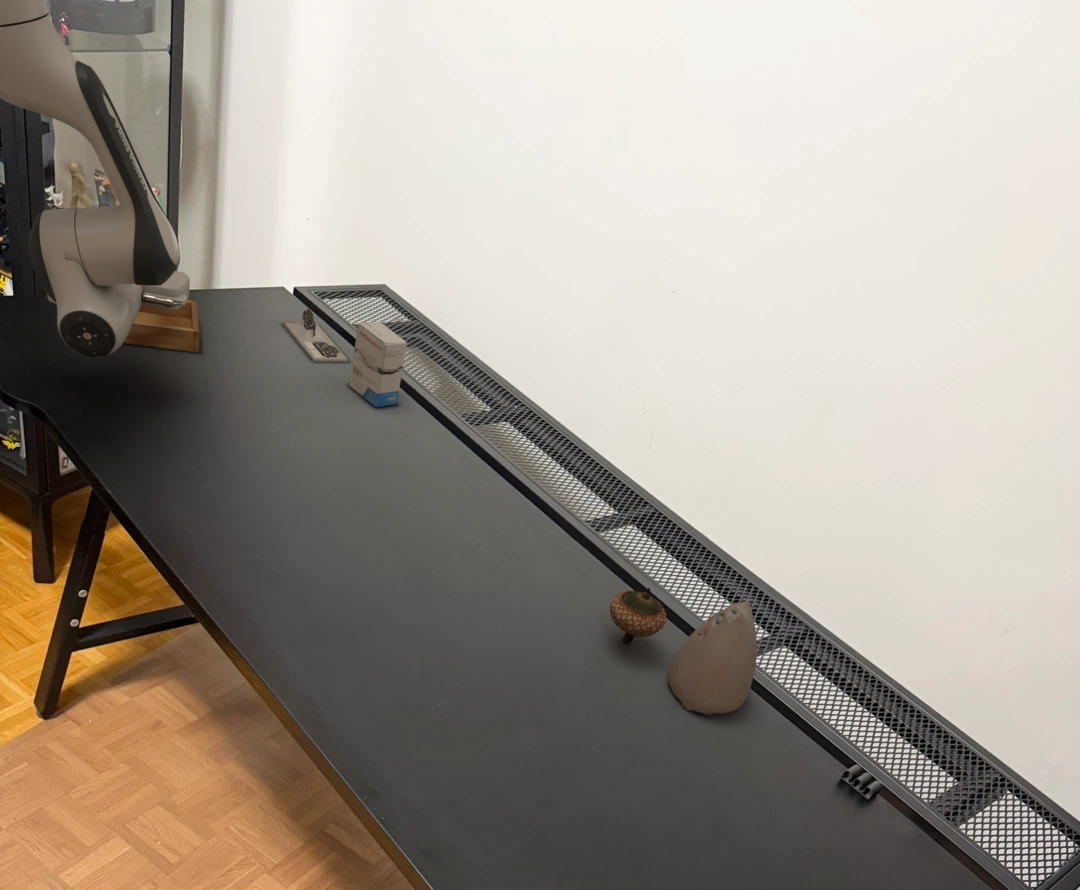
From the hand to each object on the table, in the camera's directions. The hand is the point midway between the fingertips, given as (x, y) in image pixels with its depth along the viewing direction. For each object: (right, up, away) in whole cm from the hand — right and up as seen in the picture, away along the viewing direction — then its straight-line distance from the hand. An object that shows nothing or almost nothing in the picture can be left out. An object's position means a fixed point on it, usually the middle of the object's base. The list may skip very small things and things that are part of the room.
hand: (126, 259), depth 158 cm
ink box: (+34, -13, +25) cm, 44 cm away
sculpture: (+88, -68, -15) cm, 112 cm away
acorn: (+77, -61, -12) cm, 99 cm away
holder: (-3, -3, +22) cm, 22 cm away
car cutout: (+22, 0, +35) cm, 41 cm away
